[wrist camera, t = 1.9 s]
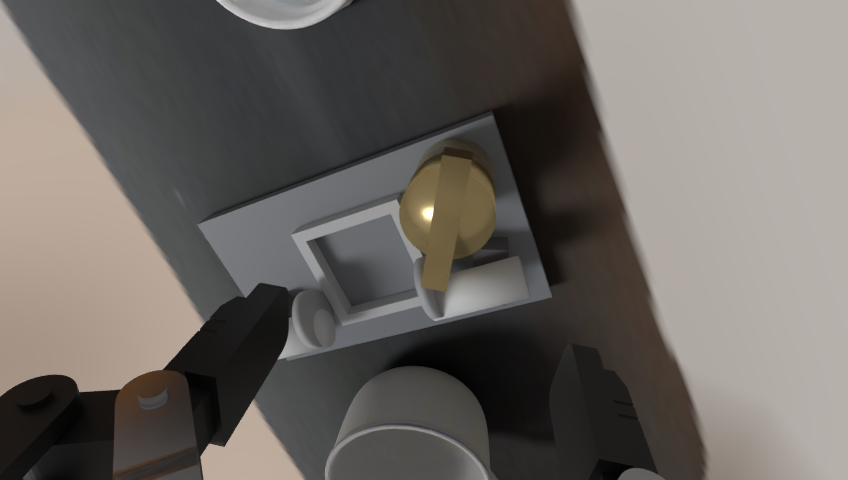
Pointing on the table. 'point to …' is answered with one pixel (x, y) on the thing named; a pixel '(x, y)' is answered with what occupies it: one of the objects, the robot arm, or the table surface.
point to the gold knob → (449, 206)
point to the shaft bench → (374, 250)
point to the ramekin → (284, 11)
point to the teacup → (412, 430)
